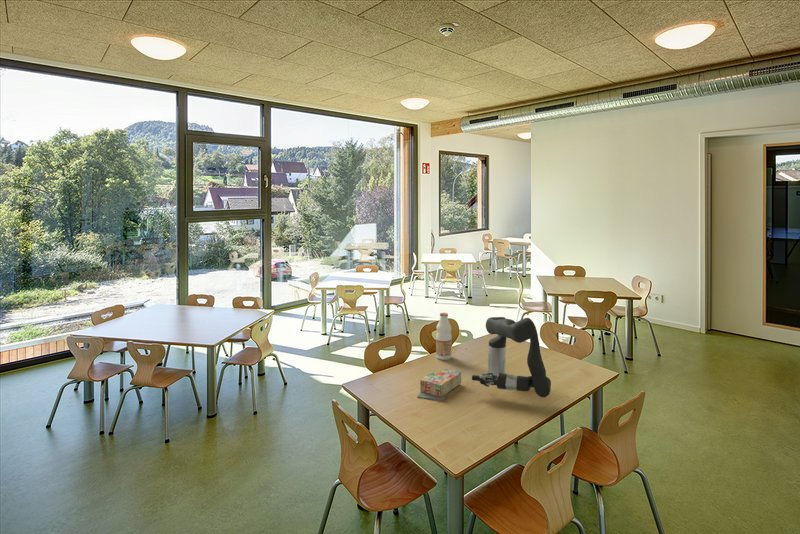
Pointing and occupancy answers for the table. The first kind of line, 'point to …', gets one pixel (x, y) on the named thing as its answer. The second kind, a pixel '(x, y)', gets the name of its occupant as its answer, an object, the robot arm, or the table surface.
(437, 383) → the patterned cardboard box
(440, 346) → the fruit juice
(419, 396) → the mat
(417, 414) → the table surface
